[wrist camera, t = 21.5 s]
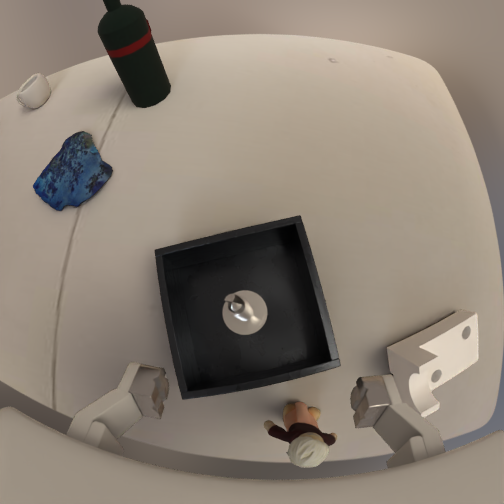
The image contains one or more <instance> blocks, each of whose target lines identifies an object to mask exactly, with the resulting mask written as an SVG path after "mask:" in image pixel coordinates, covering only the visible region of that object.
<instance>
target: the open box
mask: <svg viewBox="0 0 504 504" xmlns="http://www.w3.org/2000/svg"><path fill="white" fill-rule="evenodd" d="M155 258H156V266H157V273H158V281H159V287H160V294H161V300H162V306H163V312H164V318H165V323H166V329H167V334H168V339H169V344H170V349H171V354H172V359H173V363H174V368H175V372H176V376H177V380H178V385H179V389H180V392H181V396H182V399H192V398H200V397H207V396H214V395H220V394H226V393H232V392H238V391H243V390H248V389H253V388H258V387H263V386H268V385H272V384H276V383H281V382H285V381H289V380H293V379H297V378H301V377H305V376H308V375H312V374H315V373H319V372H322V371H326V370H329V369H332V368H336V367H339V366H341V364H340V360H339V355H338V351H337V346H336V342H335V338H334V334H333V330H332V326H331V322H330V318H329V314H328V310H327V306H326V302H325V298H324V295H323V291H322V287H321V284H320V280H319V276H318V273H317V269H316V266H315V262H314V259H313V255H312V252H311V248H310V245H309V241H308V238H307V235H306V231H305V228H304V225H303V222H302V219H301V216H295V217H290V218H286V219H281V220H277V221H273V222H268V223H264V224H259V225H255V226H251V227H246V228H242V229H238V230H234V231H229V232H225V233H221V234H217V235H213V236H208V237H204V238H200V239H196V240H192V241H188V242H184V243H180V244H176V245H172V246H168V247H164V248H160V249H156V250H155ZM243 290H245V291H252V292H254V293H256V294H258V295H259V296H260V297H261V298H262V299H263V300H264V302H265V304H266V307H267V319H266V321H265V324H264V325H263V326H262V328H261V329H259V330H258V331H257V332H255V333H252V334H248V335H242V334H238V333H235V332H233V331H232V330H230V329H229V328H228V327H227V325H226V324H225V322H224V319H223V306H224V303H225V302H226V301H225V298H226V296H228V295H229V294H234V293H236V292H238V291H243Z"/></svg>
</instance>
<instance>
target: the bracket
mask: <svg viewBox="0 0 504 504" xmlns="http://www.w3.org/2000/svg"><path fill="white" fill-rule="evenodd" d="M387 354H388V361H389V368H390V372H391V373H392V374H393V376H394V381H395V383H396V386H397V389H398V392H399V395H400V398H401V400H402V403H406V404H407V405H409V406H410V407H411V408H412V409H413V410H415V411H416V412H417V413H418V414H420V415H421V416H422V417H423V418H424V417H426V416H428V415H430V414H431V413H433V412H435V411H436V410H438V409H439V405H440V402H438V401H437V400H436V398H435V397H434V396H433V394H432V392H431V391H432V390H433V389H435V388H437V387H438V386H440V385H442V384H443V383H445V382H446V381H448V380H450V379H451V378H453V377H454V376H456V375H457V374H459V373H460V372H462V371H463V370H465V369H466V368H468V367H469V366H470V365H472V364H473V363H475V362H476V361H477V360H478V322H477V313H474V312H470V311H465V310H459V311H457V312H456V313H454V314H452V315H450V316H449V317H447V318H445V319H443V320H441V321H440V322H438V323H436V324H434V325H432V326H430V327H428V328H426V329H424V330H422V331H420V332H418V333H416V334H414V335H412V336H410V337H408V338H406V339H404V340H402V341H400V342H398V343H395V344H393V345H391V346H389V347H387Z"/></svg>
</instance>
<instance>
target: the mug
mask: <svg viewBox="0 0 504 504" xmlns="http://www.w3.org/2000/svg"><path fill="white" fill-rule="evenodd" d="M50 93H51V89H50V85H49V83H48V81H47V79H46V78H45V77H44V76H43V75H42V74H40V73H36V74H34V75H33V76H31V77H30V78H29V79H28V80H26V81H25V83H24V84H23V85H22V86H21V88H20V89H19V91H18V94H17V97H16V98H17V101H18V102H19V104H21V105H22V106H28V107H30V108H38V107H40V106H41V105H43V104H44V103H45V102H46V101H47V99H48V98H49V96H50ZM19 98H20V99H21V101H22V102H23V103H22V102H21V101H20V99H19Z"/></svg>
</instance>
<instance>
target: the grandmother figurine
mask: <svg viewBox="0 0 504 504" xmlns="http://www.w3.org/2000/svg"><path fill="white" fill-rule="evenodd" d="M319 417H320V411H319V410H318V409H317V408H315V407H310V408H308V409H307V406H306V404H304V403H303V402H296V403H295V404H288V405H286V406H285V407H284V411H283V421H284V424H285V427H286V429H287V432H286V431H285V430H284V429H283V428H281V427H279V426H277V425H275V424H274V423H273V422H272V421H269V420H268V421H266V422H265V423H264V428H265V429H267V431H268V434H269V435H270V436H272V437H275V438H278V439H280V440H283V441H286V442H289V443H290V445H289V449H288V452H286V453H287V454H288V456H289V458H290V460H291V462H292V463H293V464H295V465H298V466H300V467H315V466H317V465H319V464H320V463H322V462H323V461H324V460H325V458H326V457H327V455H328V453H329V448H328V446H330V445H332V444H334V443H335V441H336V439H337V435H336V434H335V433H331V434H327V433H322V432H321V431H320V430H319V428H318V425H317V422H316V421H317V419H318V418H319Z"/></svg>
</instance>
